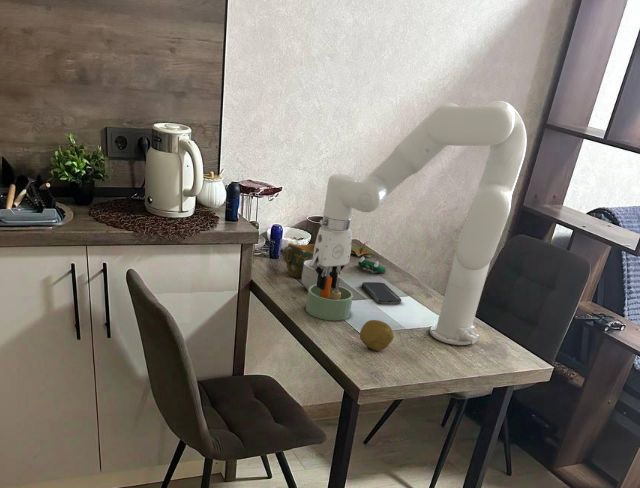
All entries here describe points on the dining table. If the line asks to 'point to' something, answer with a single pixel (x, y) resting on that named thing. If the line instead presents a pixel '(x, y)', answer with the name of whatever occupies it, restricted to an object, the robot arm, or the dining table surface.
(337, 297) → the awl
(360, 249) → the lily flower
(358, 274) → the dining table surface
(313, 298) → the crock
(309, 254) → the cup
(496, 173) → the robot arm
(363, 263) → the green toy figure
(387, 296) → the phone
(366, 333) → the potato
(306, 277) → the teacup
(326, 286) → the screwdriver
